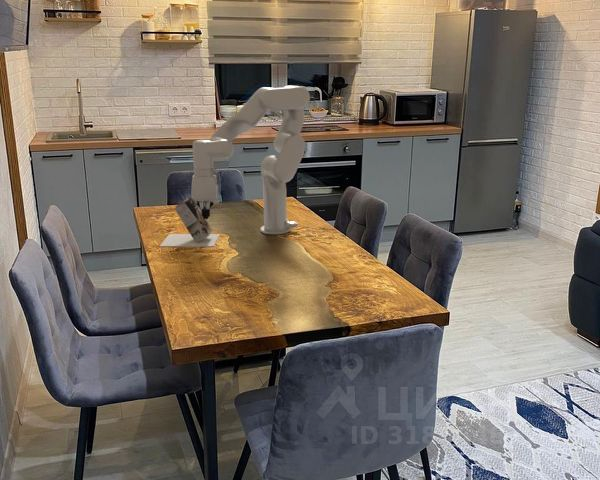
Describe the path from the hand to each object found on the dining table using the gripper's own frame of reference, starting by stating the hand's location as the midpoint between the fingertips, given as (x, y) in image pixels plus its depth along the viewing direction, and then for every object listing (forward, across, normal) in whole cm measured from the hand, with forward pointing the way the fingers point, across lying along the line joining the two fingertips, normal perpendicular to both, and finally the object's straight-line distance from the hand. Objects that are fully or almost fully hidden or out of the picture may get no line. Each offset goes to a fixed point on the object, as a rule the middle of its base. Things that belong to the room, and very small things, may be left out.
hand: (206, 218), depth 234 cm
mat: (+9, +7, 0) cm, 11 cm away
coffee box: (+8, +1, 0) cm, 8 cm away
